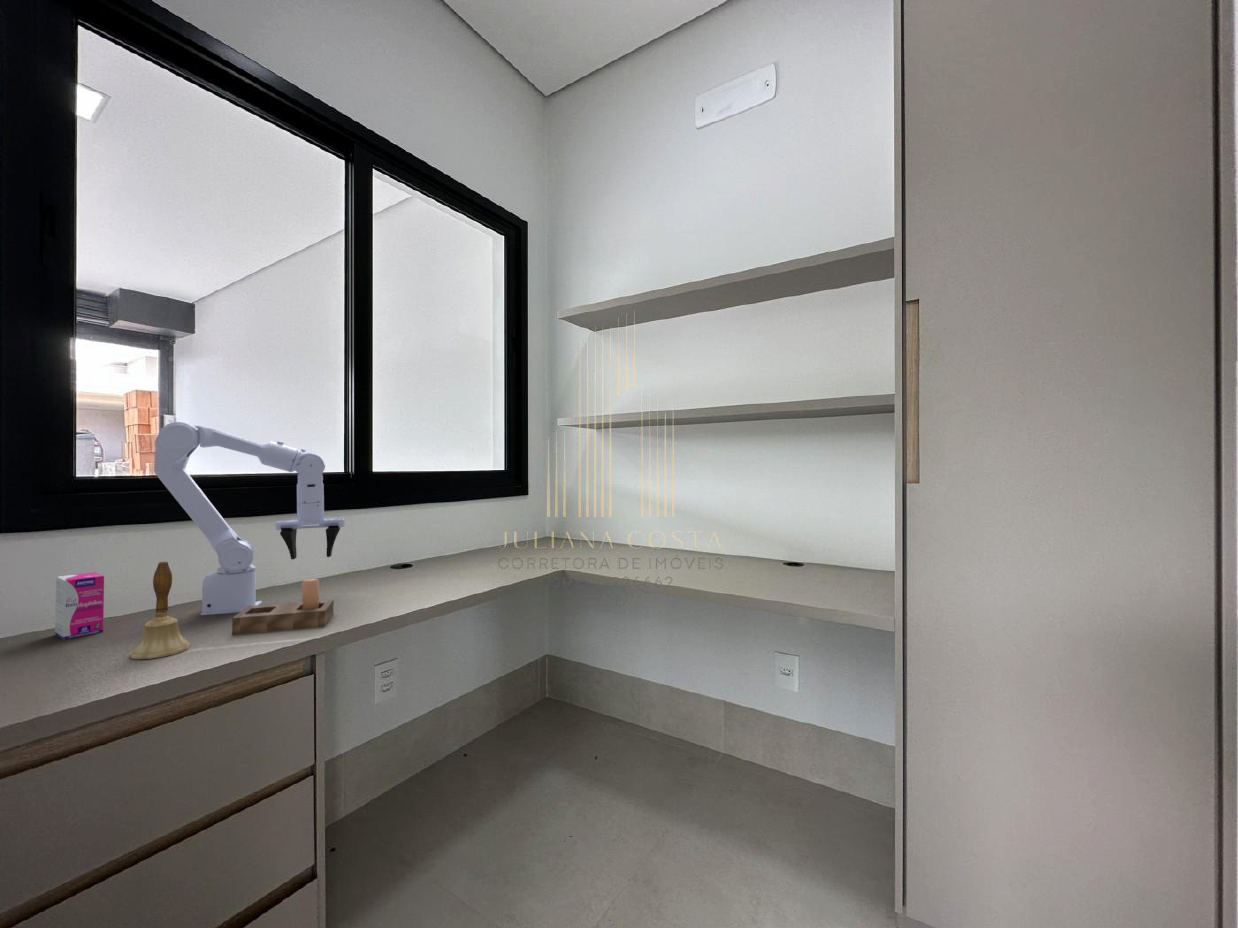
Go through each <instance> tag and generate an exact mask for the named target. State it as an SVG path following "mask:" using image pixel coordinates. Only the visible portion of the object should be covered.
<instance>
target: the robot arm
mask: <svg viewBox="0 0 1238 928" xmlns="http://www.w3.org/2000/svg"><path fill="white" fill-rule="evenodd" d="M198 447H200V448H211V447H219V448H224V449H228V450H231V451H235V452H239V453H242V454H246V455H250V456H253V457H257V458H258V460H259V462H260V463H261V465H264V466H268V467H270V468H274V469H278V470H281V471H284V472H288V473H293V472H296V473H297V483H296V515H297V516H296V517H297V519H293V520H278V521H276V522H275V531H280V532H279V534H280V536H281V538H282V539H283V541H284V542H285V545H286V547H287V549H288V551H289V552H288V553H289V556H290V560H295V559H297V556H298V555H297V532H298V529H300V530H301V529H316V528H317V529H319V528H321V529H322V528H325V536H326V558H330V557H332V554H333V548H334V544H335V542H336V538H337V536H338V534H339V532H340V530H341V528H343V527H345V518H325V494H324V493H325V491H324V486H325V484H324V483H323V481H324V475H323V473H324V472H325V470H326V465H325V462H324V459H323V458H321V457H320V456H319V455H317V454H315V453H311V452H310V453H309V452H307V453H306V449H304V448H300V449H297V448H294V447H291V446H287V445H285V444H284V442H283V441H280V440H278V441H276V442H275V441H269V442H266V443H263V444H262V443H259V442H255V441H253V440H249V439H246V438H244V437H240V436H238V435H235V434H231V433H228V432H225V431H223V430H220V429H217V428H211V427H206V426H201V425H195V424H194V425H193V426H192V425H191V424H188V423H186V422H183V421H182V422H181V421H175V422H170V423H168V424H165V425H164V426H163V427H162V428H161V429H160V430H159V432H158V434H157V436H156V438H155V440H154V463H153V464H154V466H153V469H154V470H153V471H154V473H155V476H156V477H158V479H159V480H160V482H161V483H162V484H163V485H164V486H165V488H166V489H167V491H169V492H170V494H171V495H172V496H173V498H174V499H175V500H176V501H177V503H178V504H179V505H180V506H181V507H182V509H183V510H184V511H185V513H186V514H187V515H188V516H189V517H190V519H191V520H192V522H194V524H195V525H196V526H197V527H198V529H199V530H200V531H201V533H202V534H203V535H204V536H205V538H206V539H207V540H208V541H209V544H210V545H211V547H212V548H213V550H214V551H215V553H216V555H217V560H218V561H217V563H218V564H219V566H220V567H218V568H217V569H216V571H213V572H207V573H206V574H205V575H204V578H203V581H202V587H201V589H202V590H201V593H202V596H201V597H202V599H201V600H202V601H201V604H202V605H201V607H202V609H201V610H202V611H201V613H200V616H207V615H220V614H221V615H222V614H234V613H236V614H237V613H240V612H241V611H242V610H244V609H245V608H246V607H248V606H255V605H262V603H263V601H262V600H258V601H256V566H255V565H254V564H252V563H253V560H254V547H253V545H252V544H251V543H250V542H249V541H248V540H245V539H243V538H241V537H240V536H239V535H238V533H236V532H235V530H234V529H232V527H231V526H230V525H229V524H228V522H227V521H226V520H225V519H224V518H223V516H222V515H221V513H220V512H219V511H218V510H217V509H216V507H215V506H214V505H213V503H212V502H211V501H210V500H209V498H208V497H207V495H206V494H205V493H204V492H203V490H202V489H201V487H199V485H198V484H197V483H196V481H195V480H194V479H193V478H192V476H191V475H190V474H189V473H188V472H187V470H186V467H187V464H188V462H189V459H190V456H191V455H192V454H193V453H194V452H195V451H196V449H197V448H198Z"/></svg>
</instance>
